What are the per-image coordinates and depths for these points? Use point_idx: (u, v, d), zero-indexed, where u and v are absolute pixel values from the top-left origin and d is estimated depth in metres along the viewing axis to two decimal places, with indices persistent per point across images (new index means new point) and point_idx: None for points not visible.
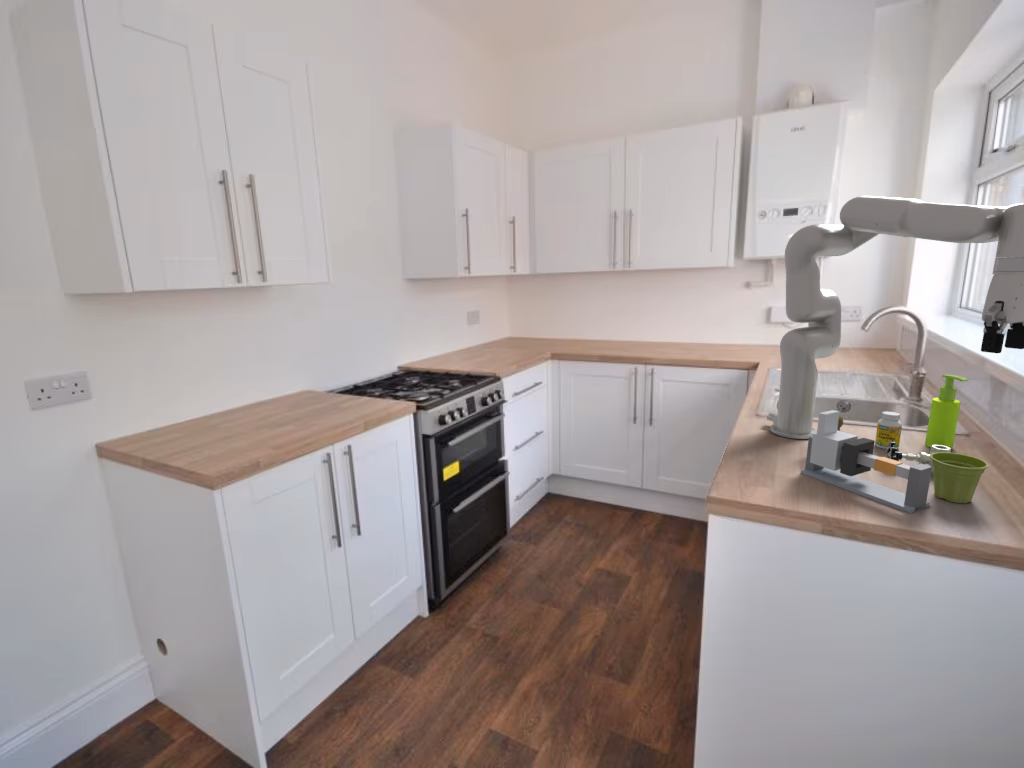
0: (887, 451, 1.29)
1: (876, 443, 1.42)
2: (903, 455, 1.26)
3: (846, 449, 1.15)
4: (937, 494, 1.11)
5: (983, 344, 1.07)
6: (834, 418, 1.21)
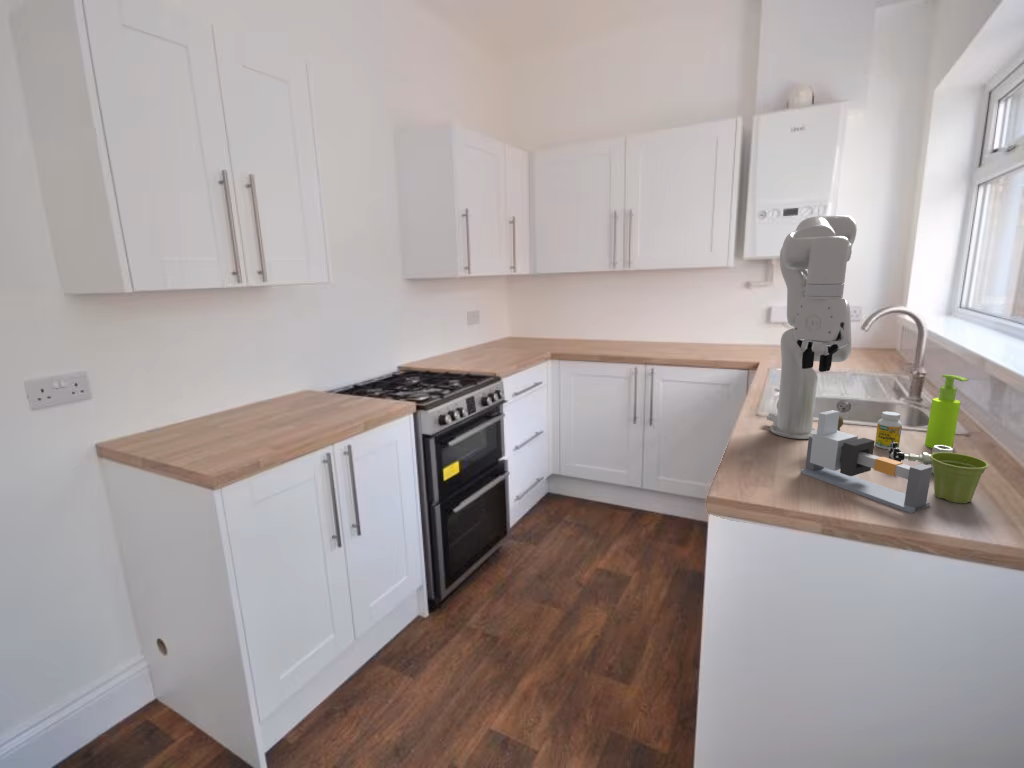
0: (889, 451, 1.29)
1: (876, 443, 1.42)
2: (905, 455, 1.26)
3: (846, 449, 1.15)
4: (937, 494, 1.11)
5: (822, 365, 1.20)
6: (834, 418, 1.21)
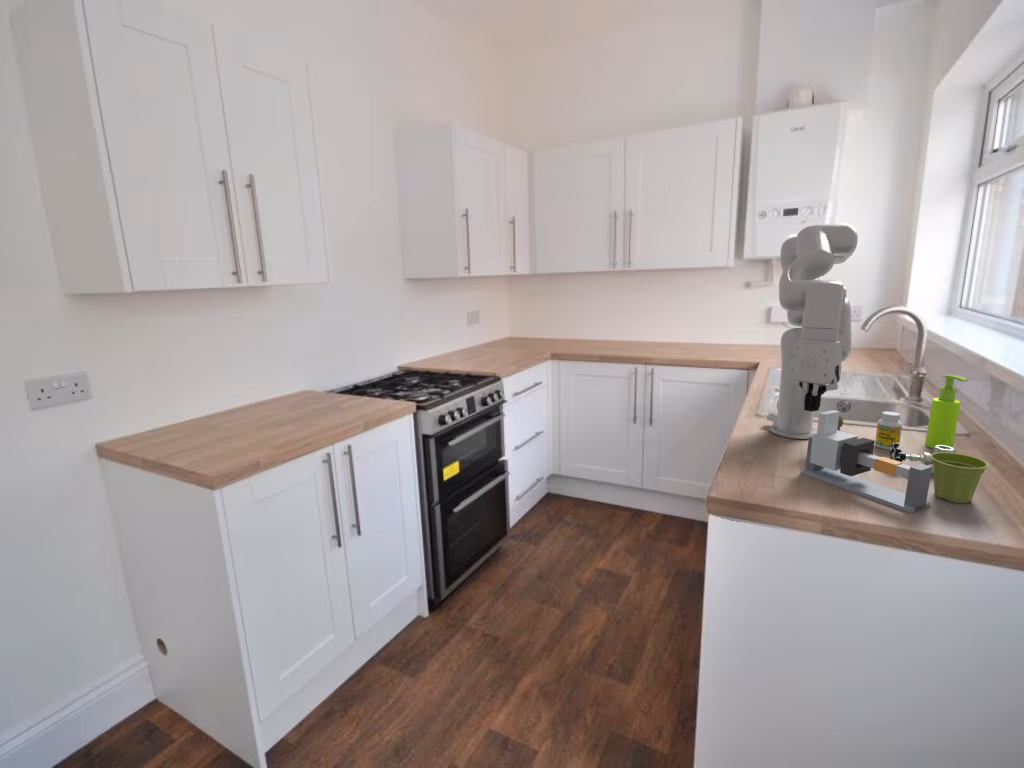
0: (890, 452, 1.29)
1: (876, 443, 1.42)
2: (907, 456, 1.26)
3: (846, 449, 1.15)
4: (937, 494, 1.11)
5: (811, 405, 1.23)
6: (834, 418, 1.21)
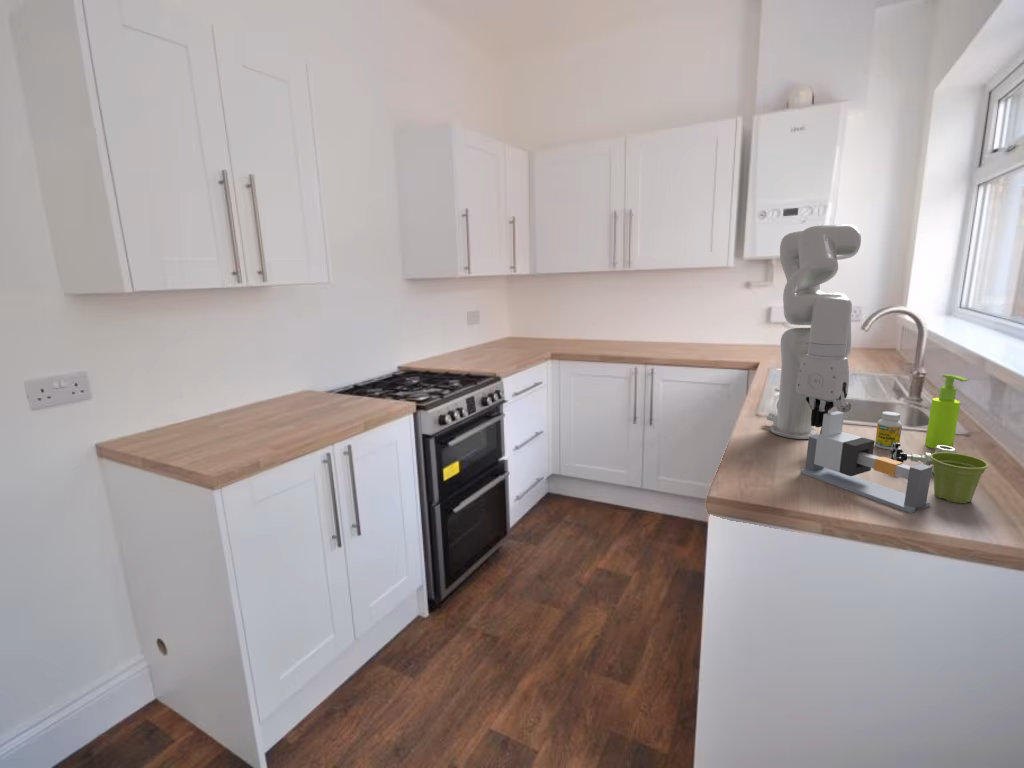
0: (891, 452, 1.29)
1: (876, 443, 1.42)
2: (908, 456, 1.25)
3: (846, 449, 1.15)
4: (937, 494, 1.11)
5: (818, 421, 1.22)
6: (838, 419, 1.20)
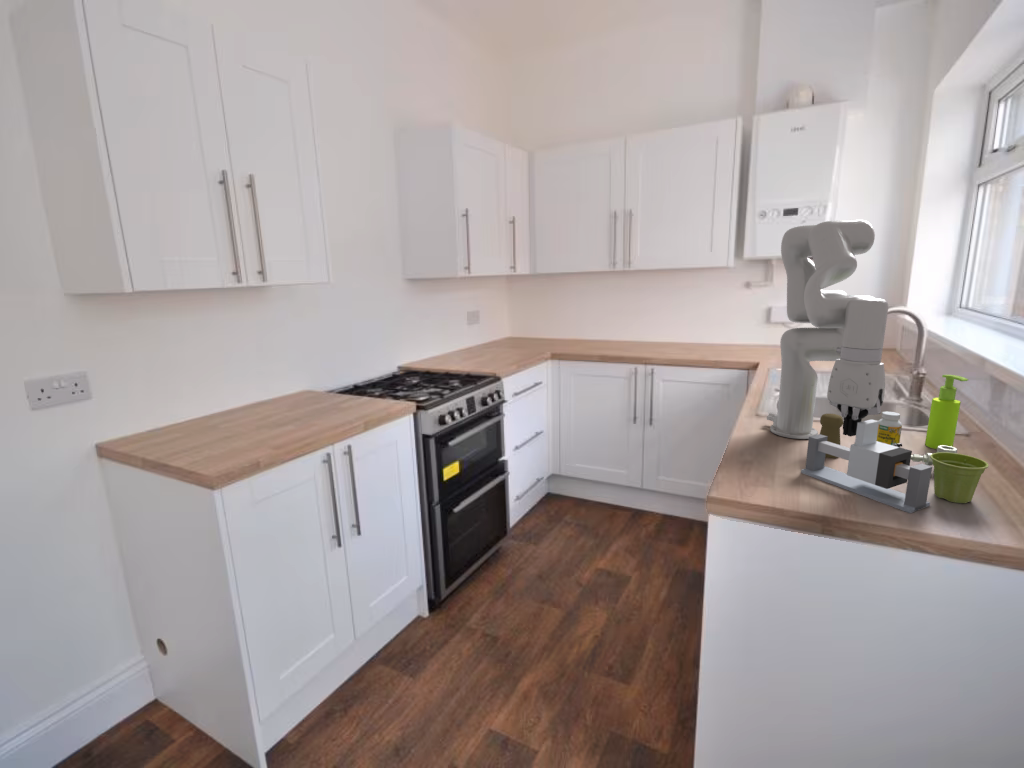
0: None
1: None
2: None
3: (882, 460, 1.08)
4: (937, 494, 1.11)
5: (851, 430, 1.16)
6: (873, 428, 1.13)
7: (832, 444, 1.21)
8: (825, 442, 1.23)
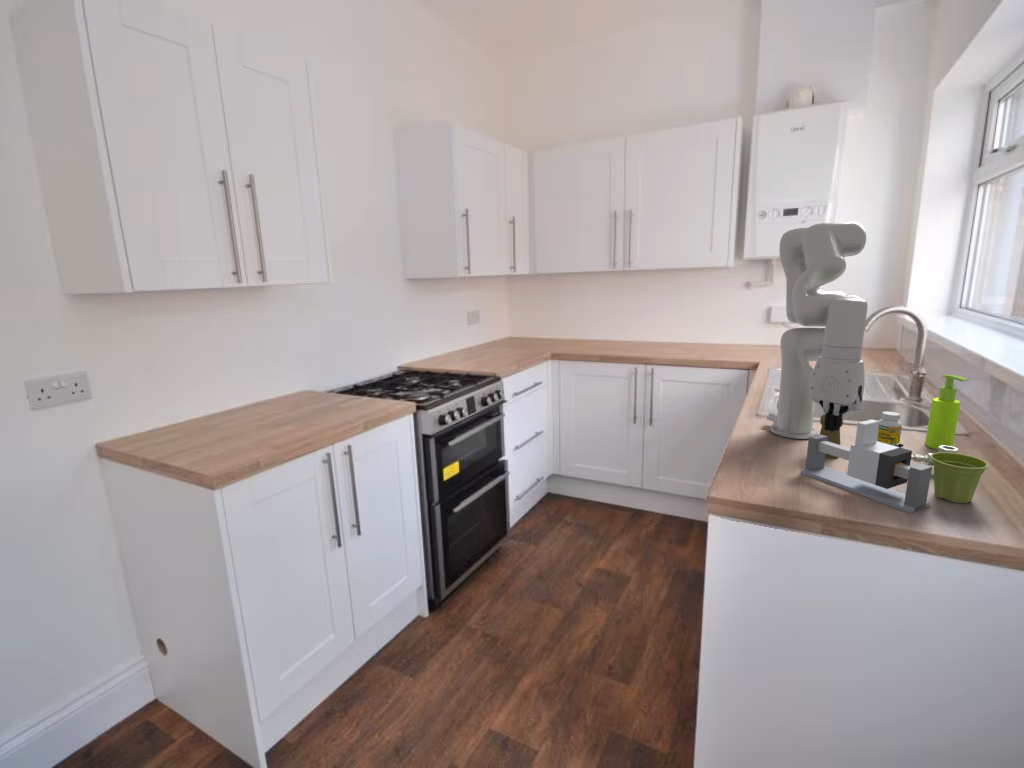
0: None
1: None
2: (911, 456, 1.25)
3: (882, 460, 1.08)
4: (937, 494, 1.11)
5: (832, 425, 1.20)
6: (873, 428, 1.13)
7: (832, 444, 1.21)
8: (825, 442, 1.23)
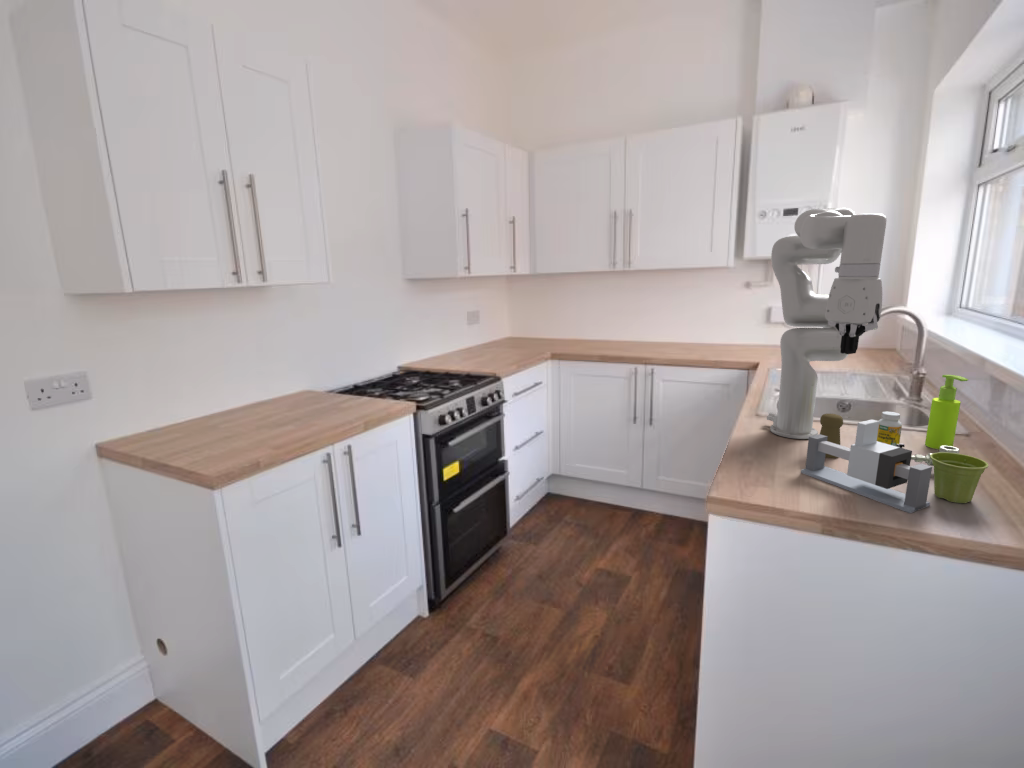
0: None
1: None
2: (912, 457, 1.25)
3: (882, 460, 1.08)
4: (937, 494, 1.11)
5: (848, 347, 1.17)
6: (873, 428, 1.13)
7: (832, 444, 1.21)
8: (825, 442, 1.23)
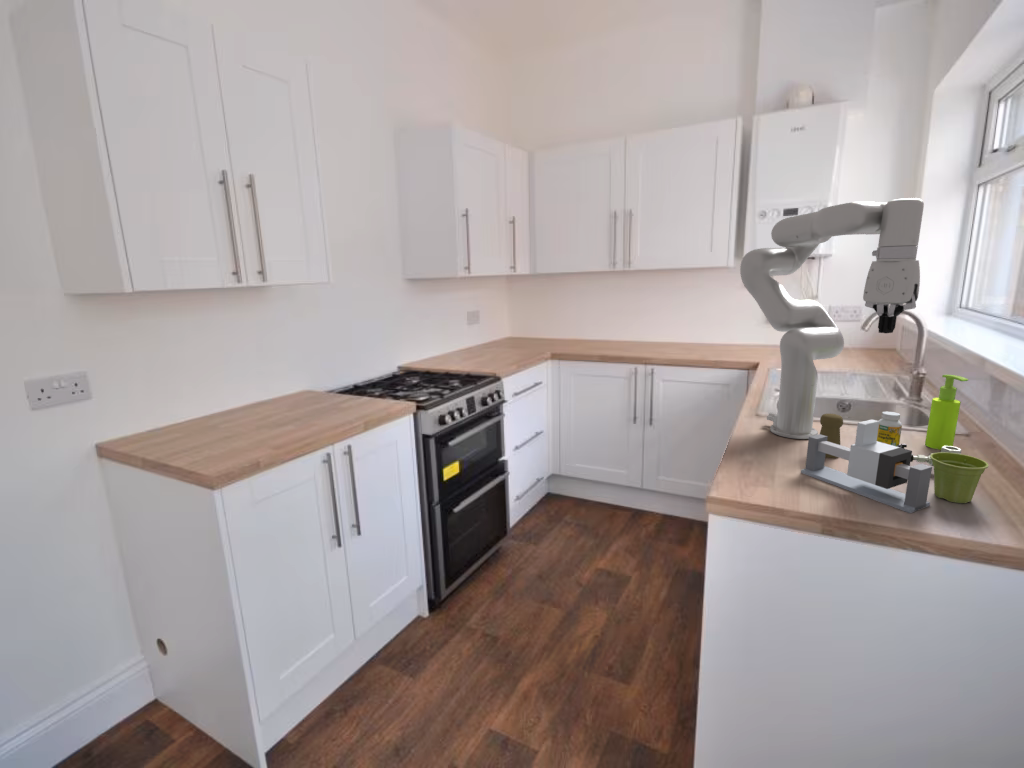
0: None
1: None
2: (914, 457, 1.25)
3: (882, 460, 1.08)
4: (937, 494, 1.11)
5: (886, 327, 1.23)
6: (873, 428, 1.13)
7: (832, 444, 1.21)
8: (825, 442, 1.23)
